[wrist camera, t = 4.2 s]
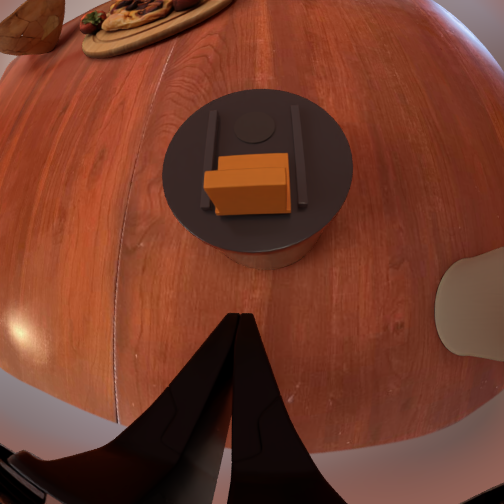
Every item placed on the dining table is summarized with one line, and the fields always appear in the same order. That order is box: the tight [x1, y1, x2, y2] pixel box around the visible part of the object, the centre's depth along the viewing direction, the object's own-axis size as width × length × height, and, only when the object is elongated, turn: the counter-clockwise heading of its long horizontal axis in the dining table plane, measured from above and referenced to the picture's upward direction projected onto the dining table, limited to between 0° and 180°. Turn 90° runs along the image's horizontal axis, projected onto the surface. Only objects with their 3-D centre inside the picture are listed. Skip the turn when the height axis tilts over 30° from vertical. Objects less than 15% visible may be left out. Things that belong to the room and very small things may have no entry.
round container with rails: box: [162, 89, 353, 270], centre depth 18 cm, size 11×11×9 cm
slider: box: [203, 153, 291, 215], centre depth 12 cm, size 3×4×3 cm
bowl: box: [0, 0, 65, 56], centre depth 30 cm, size 21×20×20 cm
